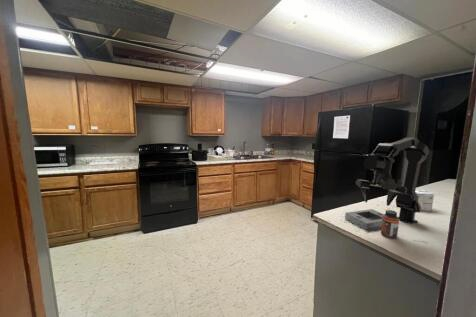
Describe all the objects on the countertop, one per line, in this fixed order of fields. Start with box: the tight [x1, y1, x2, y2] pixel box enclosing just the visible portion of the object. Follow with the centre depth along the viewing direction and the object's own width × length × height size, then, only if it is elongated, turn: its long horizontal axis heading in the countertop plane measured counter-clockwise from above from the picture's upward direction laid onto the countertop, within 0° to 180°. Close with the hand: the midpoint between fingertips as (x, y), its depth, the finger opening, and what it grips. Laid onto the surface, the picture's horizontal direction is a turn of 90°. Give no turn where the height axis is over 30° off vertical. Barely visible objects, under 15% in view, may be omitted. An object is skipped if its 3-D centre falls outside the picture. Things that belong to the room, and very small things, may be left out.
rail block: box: [344, 208, 385, 231], centre depth 101 cm, size 18×13×4 cm
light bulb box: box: [415, 190, 435, 212], centre depth 119 cm, size 11×7×11 cm, turn 84°
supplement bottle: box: [380, 209, 400, 239], centre depth 88 cm, size 6×6×11 cm
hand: (376, 203), depth 91 cm, fingers open, 9 cm apart
